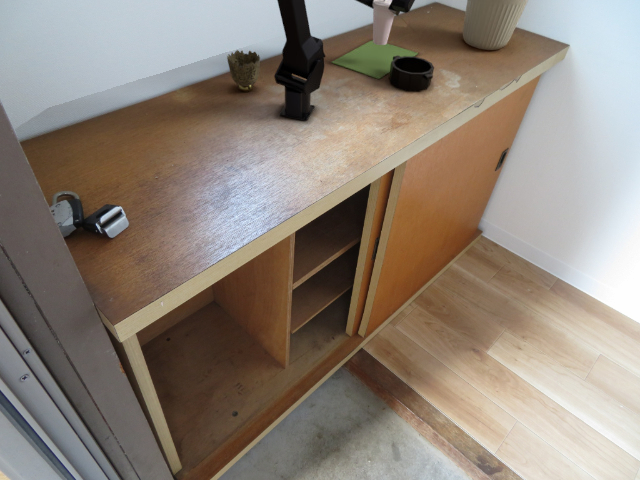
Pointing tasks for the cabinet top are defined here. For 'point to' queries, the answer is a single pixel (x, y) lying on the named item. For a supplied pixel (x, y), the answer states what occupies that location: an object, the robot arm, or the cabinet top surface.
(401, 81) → the pot
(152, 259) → the cabinet top surface
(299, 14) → the robot arm
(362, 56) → the cloth
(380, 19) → the smoothie
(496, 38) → the canister
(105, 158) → the cabinet top surface
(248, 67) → the cup
